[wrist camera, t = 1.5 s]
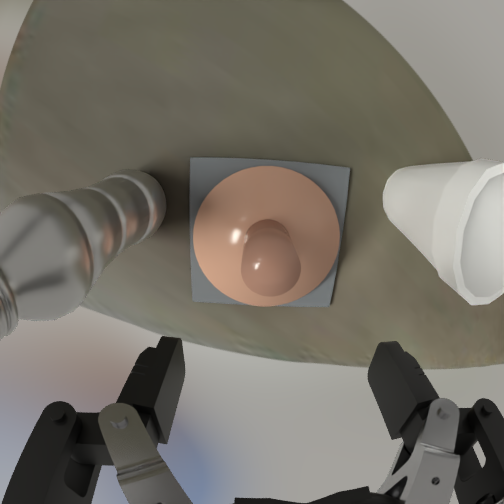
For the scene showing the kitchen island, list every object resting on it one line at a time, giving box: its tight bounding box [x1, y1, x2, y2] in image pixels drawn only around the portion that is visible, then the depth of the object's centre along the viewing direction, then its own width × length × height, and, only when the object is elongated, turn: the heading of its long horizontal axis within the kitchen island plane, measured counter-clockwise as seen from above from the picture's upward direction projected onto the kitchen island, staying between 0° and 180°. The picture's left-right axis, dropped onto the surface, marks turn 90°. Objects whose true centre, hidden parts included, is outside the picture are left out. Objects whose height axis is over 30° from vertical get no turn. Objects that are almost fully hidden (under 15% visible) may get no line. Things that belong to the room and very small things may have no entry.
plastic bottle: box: [0, 169, 166, 340], centre depth 15 cm, size 6×7×20 cm
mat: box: [190, 157, 350, 307], centre depth 25 cm, size 14×14×1 cm
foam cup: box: [383, 158, 504, 305], centre depth 17 cm, size 10×9×13 cm
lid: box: [193, 166, 340, 306], centre depth 21 cm, size 13×13×7 cm
